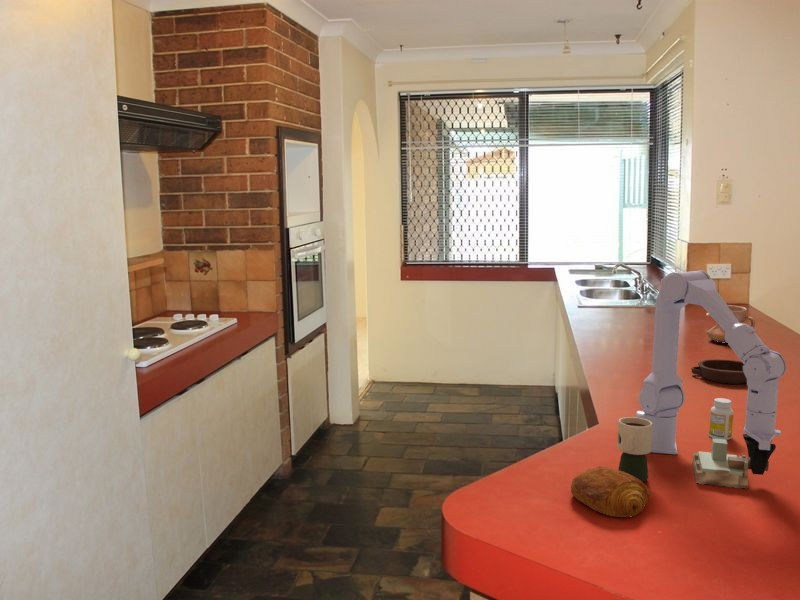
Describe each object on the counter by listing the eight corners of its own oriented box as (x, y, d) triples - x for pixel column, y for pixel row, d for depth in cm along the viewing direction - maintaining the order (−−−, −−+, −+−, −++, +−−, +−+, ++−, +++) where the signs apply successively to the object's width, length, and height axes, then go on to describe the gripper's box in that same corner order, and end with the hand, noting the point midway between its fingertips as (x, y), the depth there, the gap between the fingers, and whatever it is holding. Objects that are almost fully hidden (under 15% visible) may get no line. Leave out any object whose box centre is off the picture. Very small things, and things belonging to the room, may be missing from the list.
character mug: (622, 468, 171) (624, 412, 169) (654, 474, 167) (657, 417, 165) (609, 485, 161) (612, 426, 159) (644, 491, 158) (647, 431, 156)
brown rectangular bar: (728, 467, 161) (729, 458, 161) (727, 463, 163) (728, 454, 163) (768, 471, 159) (768, 462, 159) (766, 467, 161) (767, 458, 161)
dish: (766, 390, 234) (767, 374, 234) (689, 383, 243) (690, 367, 242) (763, 376, 250) (764, 362, 250) (691, 370, 259) (692, 356, 258)
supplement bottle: (715, 441, 188) (717, 403, 187) (704, 433, 194) (707, 397, 192) (736, 440, 189) (738, 403, 187) (724, 433, 194) (727, 396, 193)
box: (696, 483, 162) (697, 459, 161) (692, 463, 173) (693, 440, 172) (747, 489, 159) (749, 464, 158) (739, 468, 170) (741, 445, 169)
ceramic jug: (702, 343, 300) (705, 308, 297) (705, 336, 312) (708, 302, 310) (752, 349, 292) (756, 312, 289) (753, 341, 305) (756, 306, 302)
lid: (701, 471, 162) (703, 450, 161) (697, 454, 172) (699, 434, 171) (742, 476, 160) (744, 454, 159) (736, 458, 170) (737, 437, 169)
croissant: (604, 535, 143) (609, 498, 141) (557, 493, 157) (561, 459, 155) (664, 520, 149) (670, 484, 147) (614, 481, 163) (618, 447, 160)
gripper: (789, 421, 151) (783, 486, 153) (776, 401, 164) (771, 461, 166) (750, 418, 153) (745, 482, 155) (740, 398, 166) (736, 457, 169)
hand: (756, 471), depth 161 cm, fingers closed on brown rectangular bar, 2 cm apart
